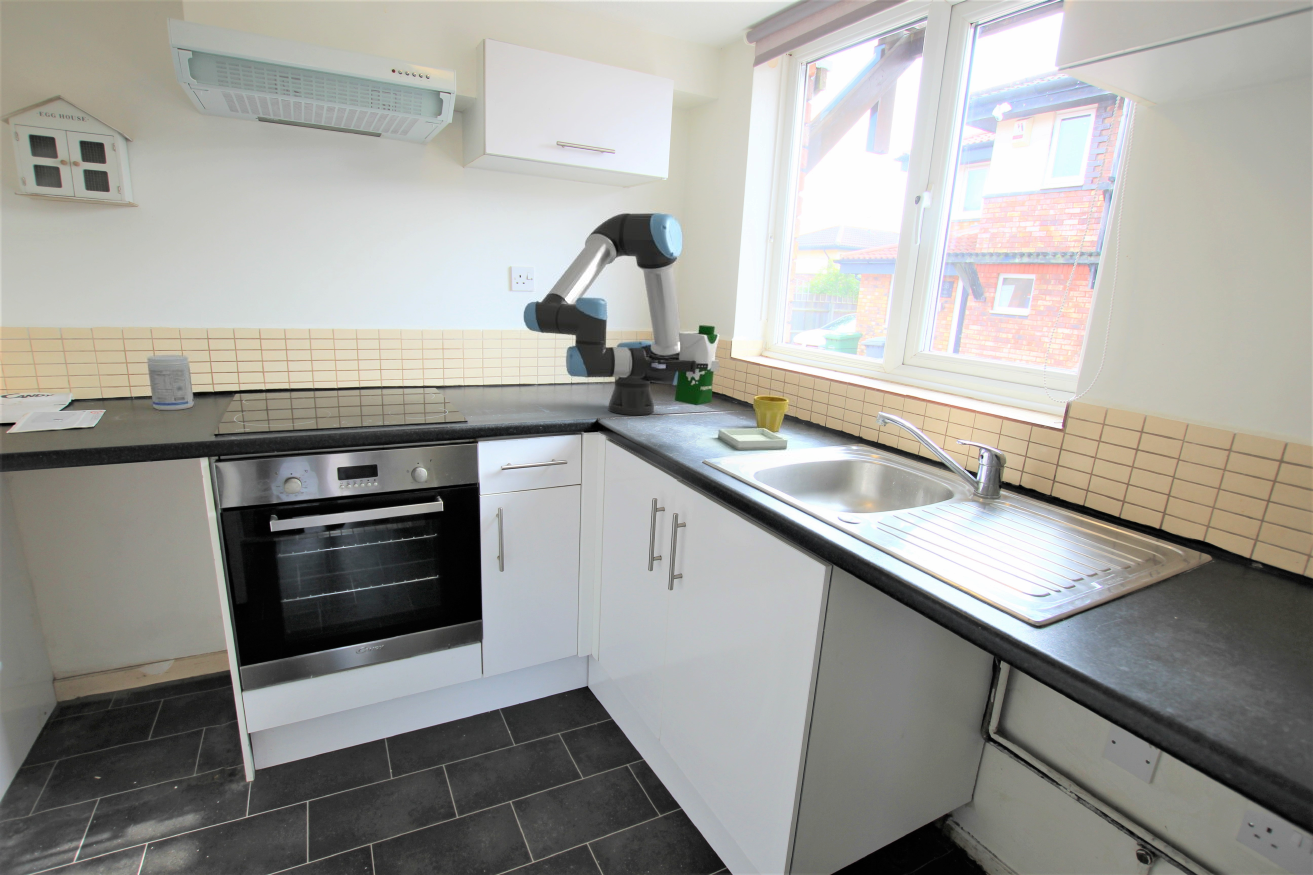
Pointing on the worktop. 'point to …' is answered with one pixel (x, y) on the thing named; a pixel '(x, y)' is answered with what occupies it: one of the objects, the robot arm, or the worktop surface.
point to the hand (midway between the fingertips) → (712, 363)
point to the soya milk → (701, 351)
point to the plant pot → (770, 411)
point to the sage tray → (752, 439)
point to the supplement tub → (170, 382)
